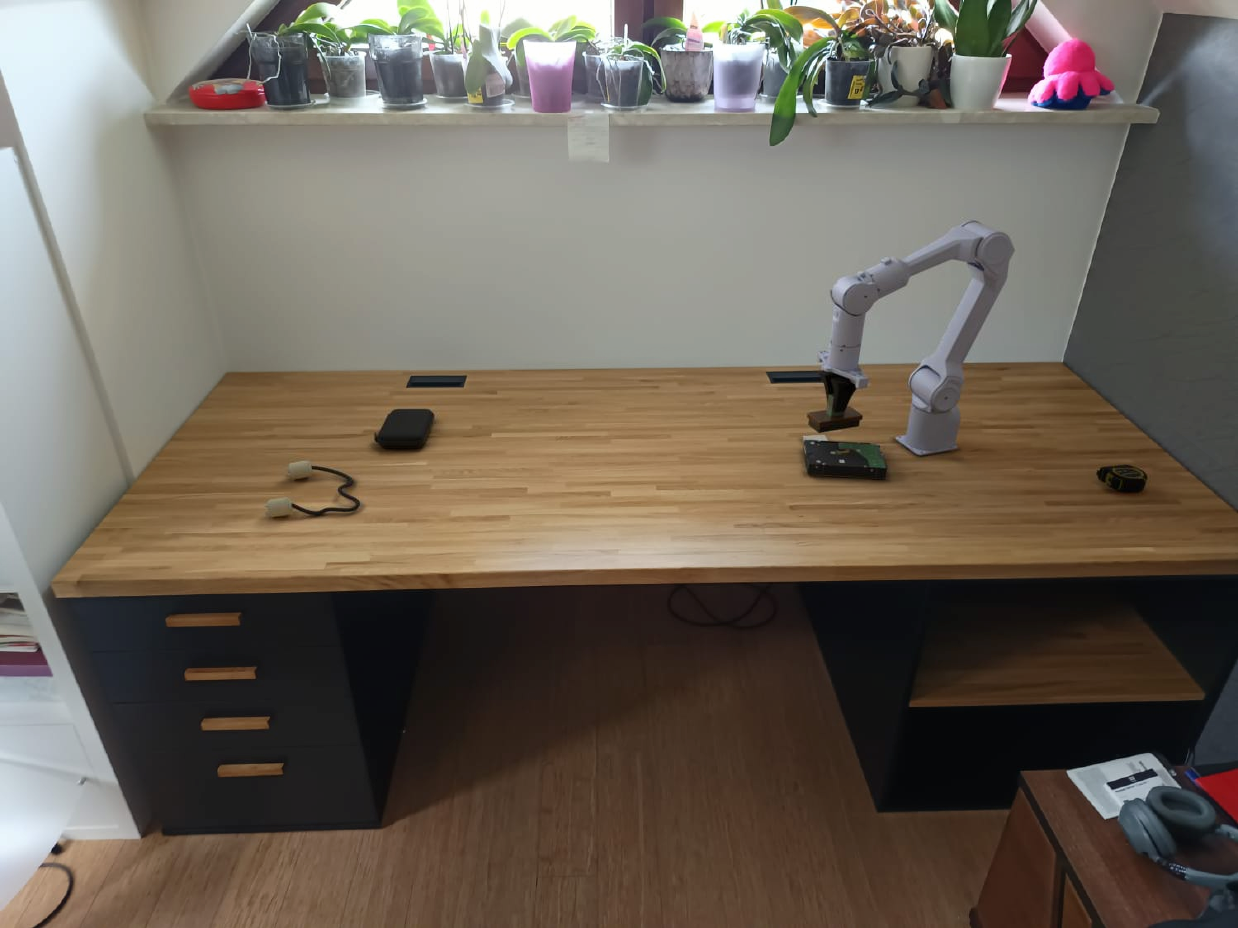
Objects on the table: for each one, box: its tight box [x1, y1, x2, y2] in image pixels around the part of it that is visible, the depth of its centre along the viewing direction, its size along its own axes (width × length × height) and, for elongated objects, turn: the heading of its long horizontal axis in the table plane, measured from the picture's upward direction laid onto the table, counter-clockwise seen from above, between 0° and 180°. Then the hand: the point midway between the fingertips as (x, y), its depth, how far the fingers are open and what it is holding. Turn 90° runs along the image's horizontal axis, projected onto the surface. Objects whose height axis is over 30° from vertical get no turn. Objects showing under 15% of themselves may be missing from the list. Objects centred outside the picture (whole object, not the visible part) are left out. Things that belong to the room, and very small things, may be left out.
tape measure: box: [1095, 464, 1148, 494], centre depth 161 cm, size 7×7×4 cm
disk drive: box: [802, 440, 889, 480], centre depth 168 cm, size 10×3×15 cm
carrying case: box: [373, 408, 435, 449], centre depth 178 cm, size 11×3×15 cm
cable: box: [264, 459, 361, 518], centre depth 156 cm, size 16×16×4 cm
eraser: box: [802, 434, 829, 442], centre depth 176 cm, size 4×3×1 cm, turn 96°
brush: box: [806, 394, 864, 434], centre depth 168 cm, size 10×5×6 cm, turn 110°
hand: (836, 408), depth 168 cm, fingers closed on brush
